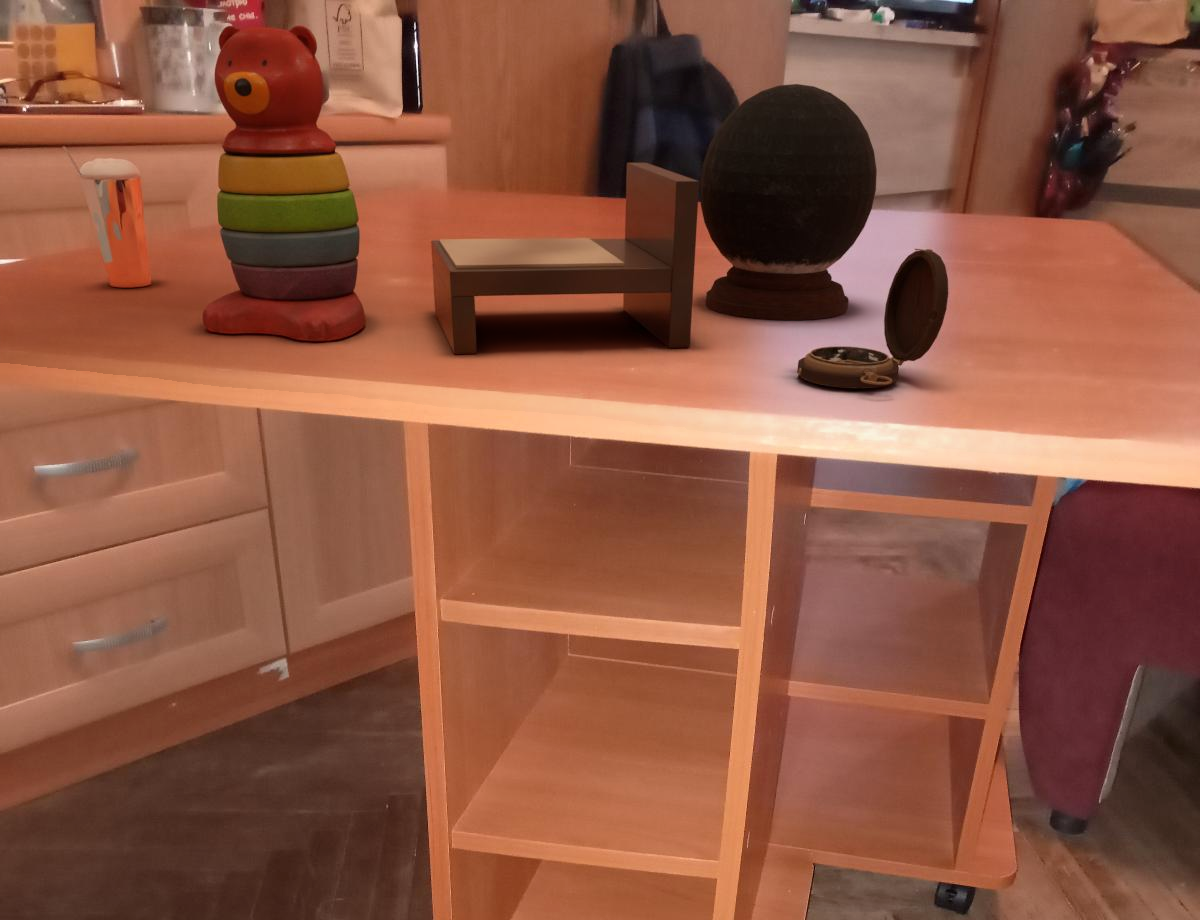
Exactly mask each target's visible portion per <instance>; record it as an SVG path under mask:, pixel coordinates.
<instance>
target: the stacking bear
mask: <svg viewBox="0 0 1200 920" xmlns="http://www.w3.org/2000/svg"><path fill="white" fill-rule="evenodd" d="M218 46H219V49H220V51H219V54H218V56H217V58H216V62H215V66H214V85H215V89H216V92H217V95H218V98H219V101H220V102H221V104H222V106H223V108H224V110H225V111H226V113H227V115H228V116H229V119H231V120H232V121H233V123H234V124H235V127H234V129H232V130H230V131H229V132H228V133H227V134H226V135H225V138H224V139H223V141H222V145H221V147H222V149H223V151H224V153H222V154H220V156H219V160H218V169H217V170H218V171H217V172H218V173H217V186H218V188H219V191H218V193H217V195H216V197H217V198H216V204H217V205H216V207H217V209H216V210H217V222H218V224H219V226H220V227H221V228H220V232H219V233H220V237H221V241H222V245H223V248H224V252H225V255H226V257H227V259H228V260H229V261H230V267H231V269H232V273H233V276H234V278H235V282H236V284H237V286H238V288H239V289H238V290H236V291H233V292H230V293H227V294H225V295H222V296H221V297H218V298H217V299H215V300H213V301H212V302H210V303H209V304H207V305H206V306H205V307H204V309H203V312H202V325H203V326H204V328H205V329H207V330H208V331H209V332H213V333H218V334H219V333H220V334H231V335H232V334H237V335H238V334H264V335H266V334H267V335H276V336H283V337H286V338H290V339H293V340H297V341H306V342H331V341H335V340H342V339H346V338H348V337H351V336H352V335H354V334H357V332H359V331H360V330H362V329H364V326H365V325H366V314H365V309H364V307H363V304H362V301H361V299H360V298H359V296H358V294H357V293H356V292H355V288H356V284H357V278H358V270H359V269H358V268H359V265H358V264H359V261H358V258H357V257H358V256H359V254H360V239H361V237H360V236H361V235H360V233H361V232H360V227H359V225H358V223H359V219H360V218H359V213H358V208H357V203H356V199H355V198H356V197H355V195H354V193H353V191H352V190H351V189H350V188H349V187H350V186H351V184H350V183H351V182H350V180H349V179H350V178H349V176H348V172H347V171H348V170H347V168H346V165H345V162H344V160H343V157H342V156H341V154H340V153H339V152H337V151H336V149H337V145H336V144H337V143H336V142H335V141H334V140H333V138H332V137H331V135H330V134H328V132H326V131H325V130H323V129H321V128H319V127H318V124H317V123H318V120H319V117H320V114H321V111H322V107H323V101H324V79H323V73H322V69H321V66H320V63H319V61H318V59H317V56H316V53H317V50H318V43H317V39H316V36H315V35H314V33H313V32H312V31H311V30H310V29H309V28H308V27H306V26H305V25H299V24H297V25H294V26H293V27H291V28H290V29H288V30H286V29H282V28H277V27H261V26H260V27H258V26H257V27H247V28H243V29H241V28H240V27H237V26H235V25H228V26H225V27H224V28H223V29H222V31H221V33H220V34H219V35H218Z"/></svg>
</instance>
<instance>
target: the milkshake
mask: <svg viewBox="0 0 1200 920" xmlns="http://www.w3.org/2000/svg"><path fill="white" fill-rule="evenodd" d="M62 148H63V150H64V151H65V153H66V155H67V156H68V158H69V159H70V161H71V163H72V164H73V166H74V169H75V170H76V171H77V174H78V177H79V181H80V185H81V187H82V191H83V194H84V197H85V201H86V204H87V208H88V211H89V213H90V216H91V219H92V223H93V225H94V229H95V233H96V237H97V240H98V243H99V247H100V252H101V254H102V255H101V256H102V258H103V262H104V266H105V269H106V270H105V271H106V274H107V277H108V281H109V285H110V286H111V287H112V288H113V287H114V288H118V289H119V288H120V289H121V288H122V289H126V288H127V289H131V288H133V289H134V288H142V287H143V288H144V287H147V286H150V285H152V279H151V269H150V261H149V254H148V244H147V235H146V226H145V213H144V200H143V188H142V178H141V172H140V170H139V168H138V167H137V166H136V165H135V164H134V163H132V162H131V161H130V160H127V159H124V158H113V157H108V158H102V157H96V158H94V159H93V160H90V161H87V162H85V163H83V164H82V166H80V168H79V167H78V166H77V164H76V162H75V161H74V159H73V157H72V156H71V153H70V152H69V150H68V148H67V147H66V146H64V145H63V146H62Z"/></svg>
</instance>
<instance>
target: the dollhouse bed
mask: <svg viewBox="0 0 1200 920" xmlns="http://www.w3.org/2000/svg"><path fill="white" fill-rule="evenodd" d="M625 181H626V183H625V184H626V185H625V188H626V189H625V220H624V222H625V223H624V227H625V228H624V238H589V237H543V238H542V237H530V238H527V237H526V238H525V237H521V238H520V237H519V238H517V237H516V238H439V239H437V240H436V239H435V240H431V241H430V243H431V244H430V247H431V248H430V249H431V262H432V264H431V265H432V266H431V267H432V282H433V300H434V314H435V315H436V318H437V320H438V322H439V324H440V327H441V329H442V331H443V333H444V335H445V338H446V339H447V342H448V344H449V346H450V348H451V350H452V352H453V354H454V355H475V354H477V353H478V350H477V347H478V346H477V328H476V327H477V325H476V322H477V321H476V301H475V300H476V298H475V297H491V296H492V297H497V296H498V297H499V296H500V297H502V296H550V295H553V296H554V295H559V296H560V295H603V294H606V295H607V294H609V295H610V294H622V295H623V297H622V298H623V299H622V300H623V301H622V310H624V312H625V313H627V314H628V315H629V316H630V317H631V318H633V319H634V320H635V321H636V322H637V323H639V324H640V325H641V326H642V327H643V328H644V329H646V330H647V331H648V332H649V333H650V334H652V336H654V337H655V338H657V339H658V340H659V341H660V342H661V343H663V345H665V347H667V348H668V349H686V348H687V349H688V348H690V347H691V333H692V332H691V331H692V318H693V317H692V313H693V297H694V280H695V263H696V247H697V246H696V245H697V229H698V228H697V226H698V212H699V211H698V210H699V209H698V208H699V195H700V181H699V180H697V179H693V178H691V177H688V176H685V175H682V174H679V173H676V172H674V171H671V170H668V169H665V168H663V167H660V166H657V165H653V164H651V163H648V162H626V179H625Z"/></svg>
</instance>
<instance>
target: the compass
mask: <svg viewBox="0 0 1200 920" xmlns="http://www.w3.org/2000/svg"><path fill="white" fill-rule="evenodd" d="M948 298H949V277H948V272H947V268H946V264H945V263H944V260H943V259H942V257H941V256H940V255H939V254H938V253H936V252H935V251H934V250H933V249H931V248H926V249H922V248H914V251H913V252H911V253H910V254H909V255H907V256H906V258H904V260H903V261H902V262H901V263H900V265H899V267H898V269H897V271H896V273H895V274H894V277H893V278H892V282H891V284H890V287H889V289H888V294H887V299H886V303H885V309H884V318H883V326H884V327H883V328H884V338H885V343H886V347H887V349H888V352H889V353H890V355H891V356H892V357H889V355H888V354H887V353H885V352H884V351H880V350H876V349H871V348H866V347H859V346H858V347H857V346H841V345H840V346H822V347H817V348H814V349H812V350H811V351H810V352H808V353H807V354H806V355H805V356H803V357H802V358H800V359H799V360H797V361H798V362H797V370H796V373H797V374H798V375H799V376H800V377H801V378H802V380H805V381H807V382H810V383H813V384H816V385H821V386H825V387H831V388H841V389H875V388H876V389H877V388H881V387H882V388H883V387H886V386H889V385H891V384H893V383H894V382H896V381H897V380H898V378H899V372H900V367H901V366H903V364H904V363H905V362H908V361H910V362H915V361H917V360H920V359H922V358H923V356H925V355H926V353H928V352H929V350H930V349H931V348H932V346H933V344H934V343H935V341H936V340H937V338H938V336H939V333H940V331H941V329H942V326H943V324H944V320H945V317H946V312H947V309H948V300H949V299H948Z"/></svg>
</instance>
